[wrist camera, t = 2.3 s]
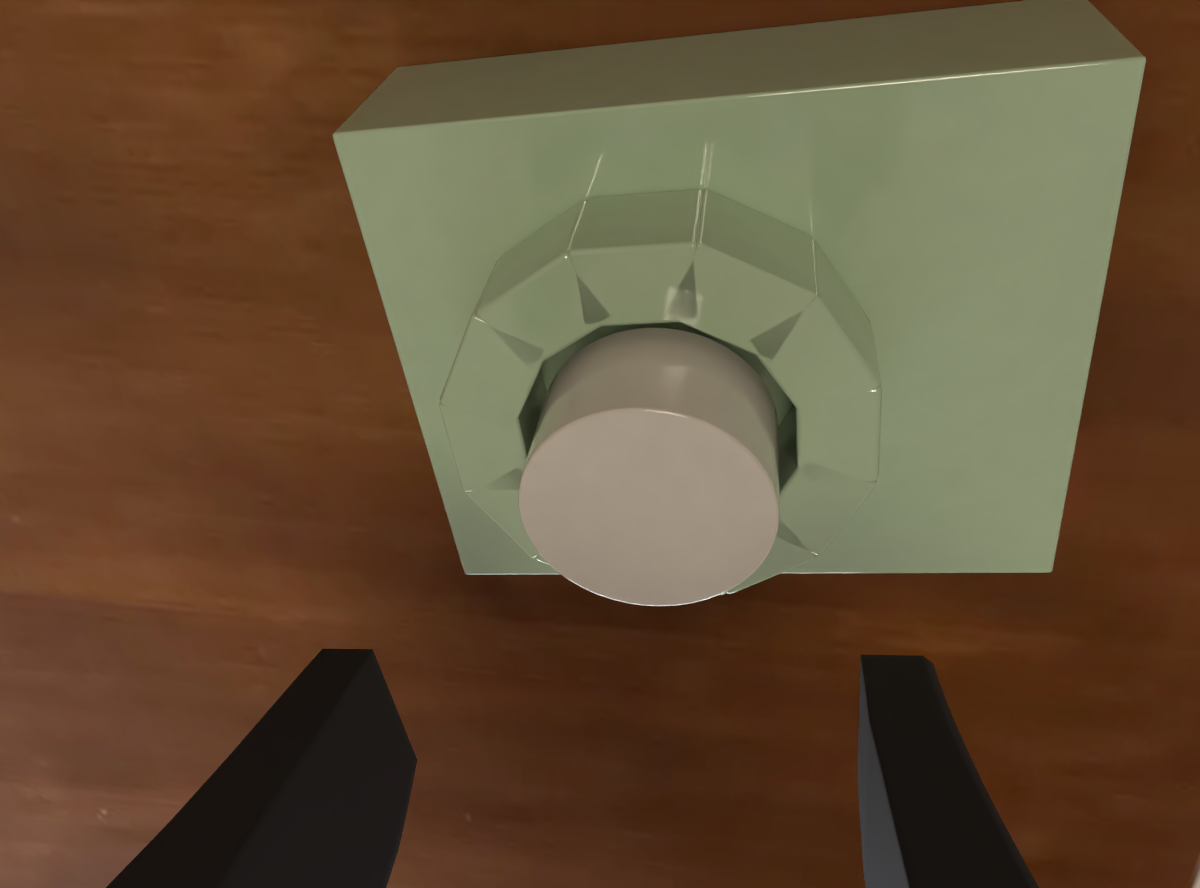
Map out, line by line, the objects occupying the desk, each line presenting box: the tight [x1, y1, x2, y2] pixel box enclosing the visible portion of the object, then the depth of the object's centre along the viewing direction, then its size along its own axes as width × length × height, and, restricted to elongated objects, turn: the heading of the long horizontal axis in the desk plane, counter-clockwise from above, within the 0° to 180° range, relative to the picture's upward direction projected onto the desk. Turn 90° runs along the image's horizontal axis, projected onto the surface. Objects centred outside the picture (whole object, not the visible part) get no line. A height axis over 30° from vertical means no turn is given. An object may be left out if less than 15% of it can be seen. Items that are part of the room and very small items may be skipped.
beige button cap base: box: [333, 0, 1146, 595], centre depth 17 cm, size 11×9×5 cm
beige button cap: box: [518, 328, 780, 606], centre depth 14 cm, size 4×4×2 cm
